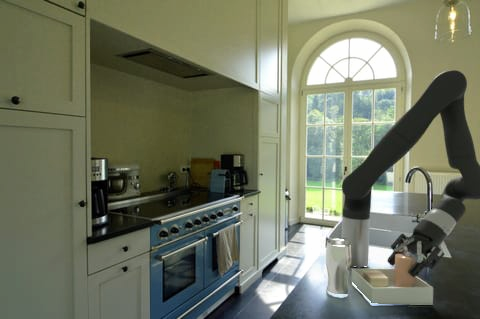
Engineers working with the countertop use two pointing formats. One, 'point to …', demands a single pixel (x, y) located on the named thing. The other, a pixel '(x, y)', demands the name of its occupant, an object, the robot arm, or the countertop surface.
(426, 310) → the countertop surface
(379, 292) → the grey tote
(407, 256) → the terracotta cylinder
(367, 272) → the beech cube
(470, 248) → the countertop surface
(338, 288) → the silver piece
